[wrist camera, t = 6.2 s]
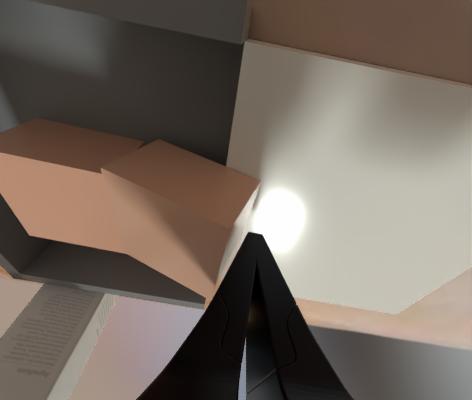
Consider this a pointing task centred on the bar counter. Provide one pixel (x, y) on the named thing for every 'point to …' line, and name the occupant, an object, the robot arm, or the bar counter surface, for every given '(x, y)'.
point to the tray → (117, 107)
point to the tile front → (180, 212)
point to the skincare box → (51, 342)
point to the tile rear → (61, 181)
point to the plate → (355, 175)
